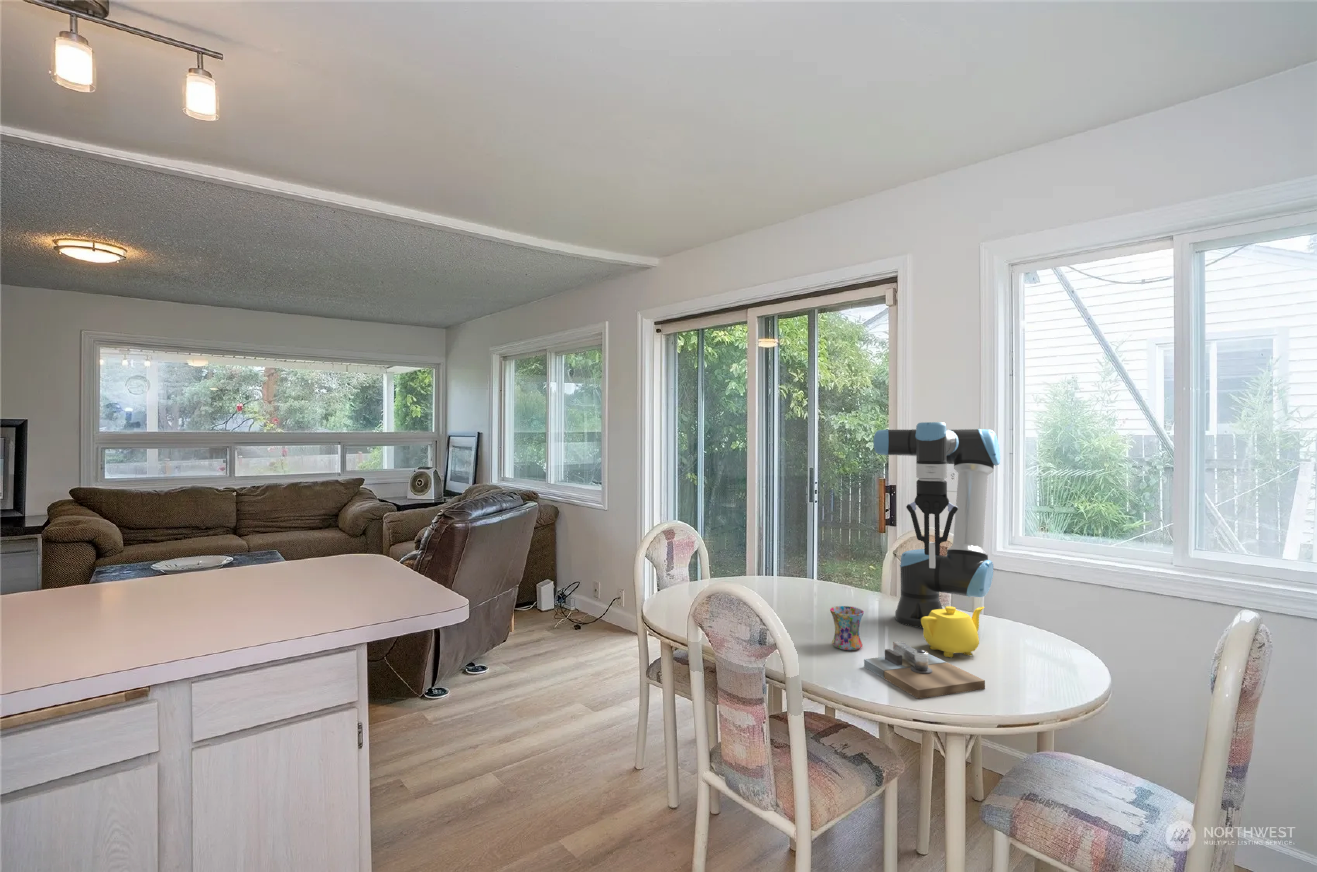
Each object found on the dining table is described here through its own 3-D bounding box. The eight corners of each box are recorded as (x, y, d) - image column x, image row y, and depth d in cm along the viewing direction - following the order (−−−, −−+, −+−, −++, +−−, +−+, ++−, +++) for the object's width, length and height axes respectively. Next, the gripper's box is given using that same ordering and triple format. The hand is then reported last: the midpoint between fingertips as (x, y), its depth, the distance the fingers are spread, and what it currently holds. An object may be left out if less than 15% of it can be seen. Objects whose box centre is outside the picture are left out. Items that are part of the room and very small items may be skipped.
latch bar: (930, 669, 157) (930, 652, 157) (919, 670, 156) (919, 652, 156) (903, 652, 169) (903, 636, 169) (892, 653, 169) (892, 636, 169)
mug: (867, 653, 176) (867, 615, 176) (834, 652, 177) (833, 614, 177) (857, 639, 188) (857, 603, 188) (825, 638, 189) (825, 603, 189)
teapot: (1001, 656, 173) (1001, 611, 173) (937, 662, 169) (936, 616, 169) (967, 640, 186) (967, 598, 186) (907, 645, 182) (906, 603, 182)
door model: (924, 658, 171) (924, 642, 171) (984, 688, 151) (984, 670, 151) (864, 666, 166) (863, 649, 166) (918, 698, 146) (918, 679, 146)
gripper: (904, 480, 169) (905, 568, 169) (958, 481, 163) (959, 572, 163) (906, 477, 175) (907, 562, 176) (958, 478, 170) (958, 566, 170)
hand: (932, 567), depth 170 cm, fingers closed
